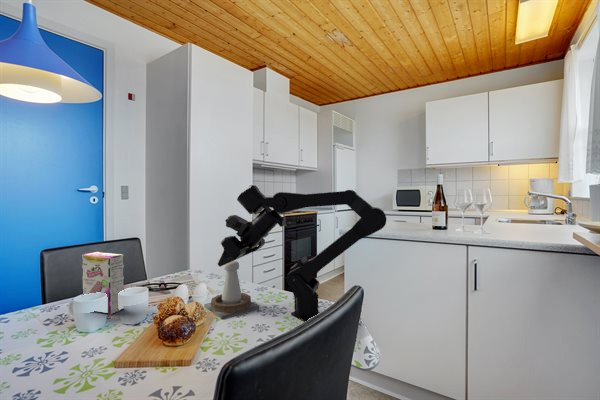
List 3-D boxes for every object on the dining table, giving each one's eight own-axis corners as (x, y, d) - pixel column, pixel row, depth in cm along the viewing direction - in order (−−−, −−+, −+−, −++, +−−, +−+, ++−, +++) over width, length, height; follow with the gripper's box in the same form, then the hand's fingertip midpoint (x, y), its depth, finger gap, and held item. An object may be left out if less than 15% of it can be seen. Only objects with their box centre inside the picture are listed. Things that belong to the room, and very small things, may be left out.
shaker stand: (258, 308, 89) (258, 299, 88) (222, 319, 81) (221, 309, 81) (239, 297, 97) (238, 290, 97) (204, 306, 90) (203, 298, 90)
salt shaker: (241, 308, 86) (240, 263, 86) (220, 309, 86) (220, 264, 85) (242, 301, 92) (242, 259, 92) (223, 302, 92) (223, 259, 91)
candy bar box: (81, 310, 87) (80, 254, 87) (98, 304, 92) (97, 251, 91) (109, 315, 83) (109, 257, 83) (125, 309, 88) (124, 253, 88)
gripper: (255, 204, 97) (224, 237, 100) (227, 207, 79) (190, 247, 82) (278, 230, 95) (246, 262, 98) (255, 238, 77) (216, 278, 80)
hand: (226, 261), depth 89 cm, fingers open, 9 cm apart
